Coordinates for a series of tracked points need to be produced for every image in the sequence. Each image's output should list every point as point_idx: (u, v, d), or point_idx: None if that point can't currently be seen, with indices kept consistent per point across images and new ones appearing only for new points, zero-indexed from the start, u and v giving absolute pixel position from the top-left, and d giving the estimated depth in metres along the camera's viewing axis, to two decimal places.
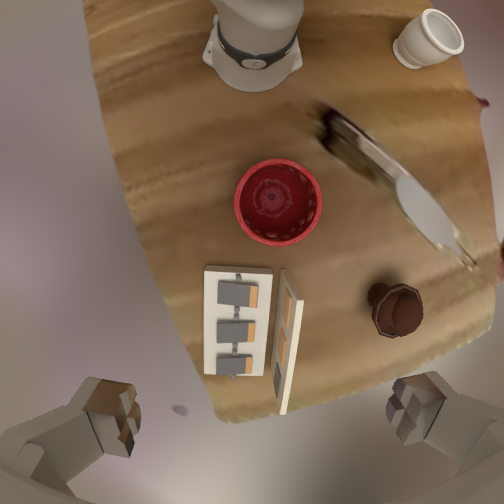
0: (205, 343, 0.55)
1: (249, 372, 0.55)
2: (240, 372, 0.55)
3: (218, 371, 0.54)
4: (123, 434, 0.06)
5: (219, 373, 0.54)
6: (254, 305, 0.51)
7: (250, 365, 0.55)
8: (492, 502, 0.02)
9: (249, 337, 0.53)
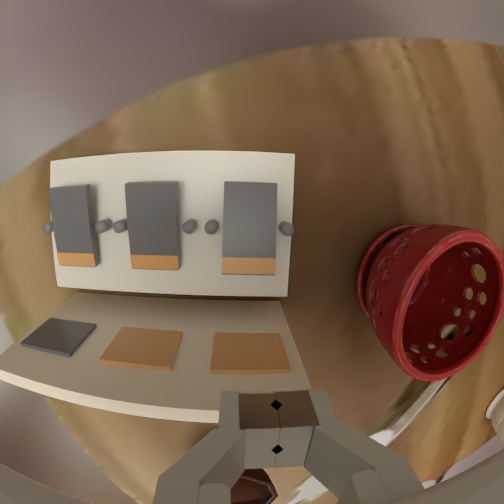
0: (117, 156, 0.22)
1: (61, 261, 0.22)
2: (58, 242, 0.22)
3: (57, 192, 0.20)
4: None
5: (52, 195, 0.20)
6: (229, 268, 0.22)
7: (76, 263, 0.22)
8: (492, 502, 0.02)
9: (142, 258, 0.23)
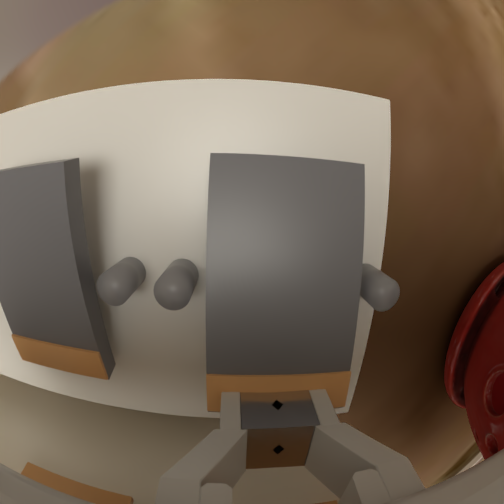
0: None
1: None
2: None
3: None
4: None
5: None
6: None
7: None
8: (492, 502, 0.02)
9: (33, 347, 0.08)
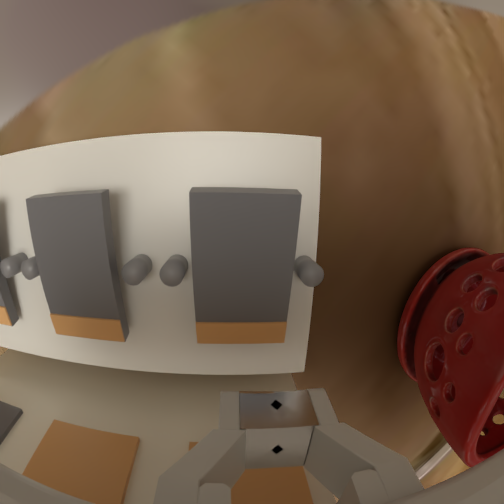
0: (30, 153, 0.11)
1: None
2: None
3: None
4: None
5: None
6: (208, 336, 0.13)
7: None
8: (492, 502, 0.02)
9: (67, 321, 0.12)
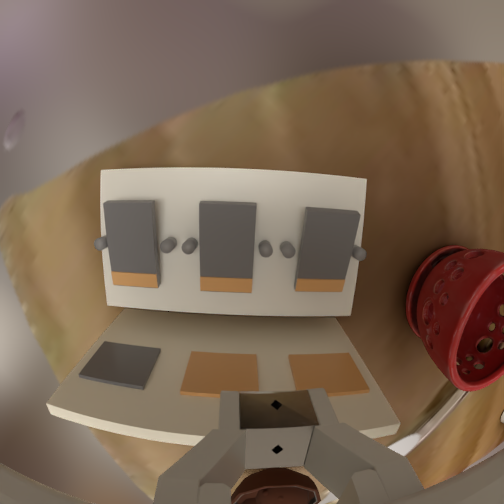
0: (183, 170, 0.22)
1: (116, 281, 0.23)
2: (114, 260, 0.22)
3: (114, 207, 0.20)
4: None
5: (108, 210, 0.20)
6: (302, 286, 0.24)
7: (135, 283, 0.23)
8: (492, 502, 0.02)
9: (213, 281, 0.23)
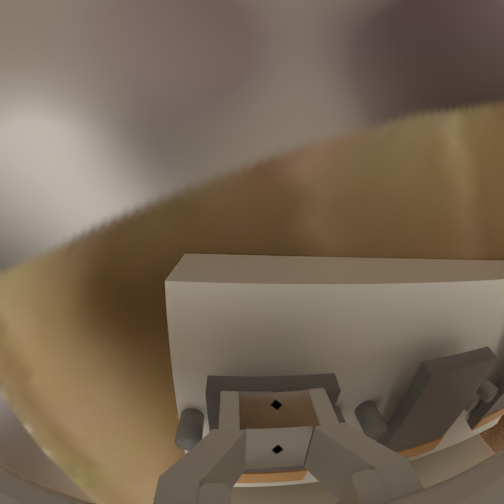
0: (377, 290, 0.10)
1: None
2: None
3: None
4: None
5: None
6: (480, 423, 0.11)
7: (262, 480, 0.10)
8: (492, 502, 0.02)
9: None
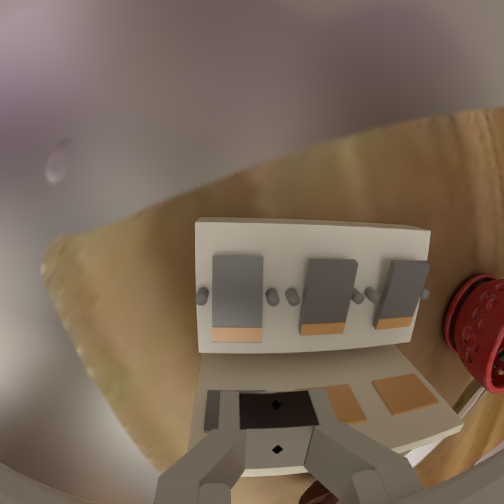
0: (285, 226, 0.24)
1: (216, 337, 0.23)
2: (217, 315, 0.23)
3: (224, 260, 0.23)
4: None
5: (218, 263, 0.23)
6: (381, 325, 0.26)
7: (238, 338, 0.23)
8: (492, 502, 0.02)
9: (313, 327, 0.25)
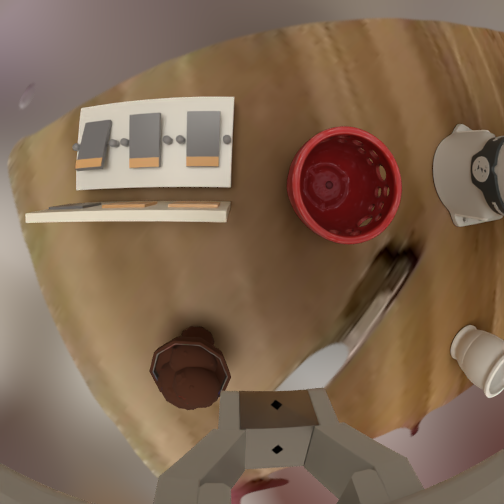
0: (125, 103, 0.33)
1: (77, 165, 0.32)
2: (80, 153, 0.33)
3: (90, 124, 0.33)
4: None
5: (87, 126, 0.33)
6: (190, 163, 0.35)
7: (88, 165, 0.32)
8: (492, 502, 0.02)
9: (136, 160, 0.34)
